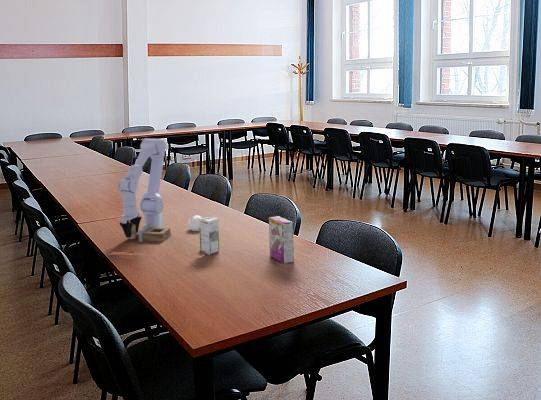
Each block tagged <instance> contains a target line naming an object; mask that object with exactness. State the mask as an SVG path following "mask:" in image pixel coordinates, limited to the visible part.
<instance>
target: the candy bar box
mask: <svg viewBox="0 0 541 400" xmlns="http://www.w3.org/2000/svg"><path fill="white" fill-rule="evenodd" d="M268 231H269V233H268V234H269V239H268V240H269V257H271V258H272V259H273V260H276V261H278V262H280V263H281V264H285V265H286V264H290V263H294V262H295V261H294V257H295V256H294V255H295V253H294V222H293V221H291V220H289V219H286V218H284V217H283V216H282V217H281V216H279V215H277V216H270V217H268Z"/></svg>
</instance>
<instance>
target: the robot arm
mask: <svg viewBox="0 0 541 400" xmlns="http://www.w3.org/2000/svg"><path fill="white" fill-rule="evenodd" d="M139 147H140V151H139V154H138V156H137V158H136V161H135V163H134V164H132V165H130V167H129V168H128V170H127V173H126V175H125V176H124V178H122V179H121V180H120V181H119V183H118V190H119V191H120V195H121V197H122V207H123V208H122V210H123V214H121V220H120V222H119V225H120V227H121V228H122V230H123V232H124V235H125V236H124V237H125V239H127V238H130V237H131V229H132V225H135V226H136V234H138V231H139V230H140V229H139V228H140V224H141V223H140V222H141V220H142V218H143V217H142V216H140V211H141V212H142V214H144V223H145V225H144V227H145V226H146V225H148V224H151V228H164V217H163V216H164V215H163V214H162V212H163V210H164V197H162V196H161V195H160V187H161V181H162V180H161V179H162V174H163V173H162V172H163V165H164V158H165V154H166V148H167V144H166V142H165V140H164V139H162V138H147V137H145V138H143V139H142V140H141V143H140V146H139ZM149 157H150V159H151V165H150V171H149V178H148V179H149V180H148V186H147V191H146V192H145V193H144V194H143V195H142V198H141V200H140V203H139V208H140V211H137V210H138V209H137V208H138V207H137V196H136V191H137V190H138V188H139V180H140V178H141V176H142V174H143V171H144V170H143V167H144V165H145V163H147V160H148V159H149Z"/></svg>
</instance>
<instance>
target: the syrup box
mask: <svg viewBox="0 0 541 400" xmlns="http://www.w3.org/2000/svg"><path fill="white" fill-rule="evenodd" d="M219 226H220V225H219V219H218V218H217V217H214V216H207V217H203V219H199V230H200V231H199V247H200V248H199V250H200V251H201V252H203V254H205V255H209V256H210V255H213V254H216V253H219V252H220V238H219V237H220V234H219V233H220V232H219V231H220V229H219V228H220V227H219Z"/></svg>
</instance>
